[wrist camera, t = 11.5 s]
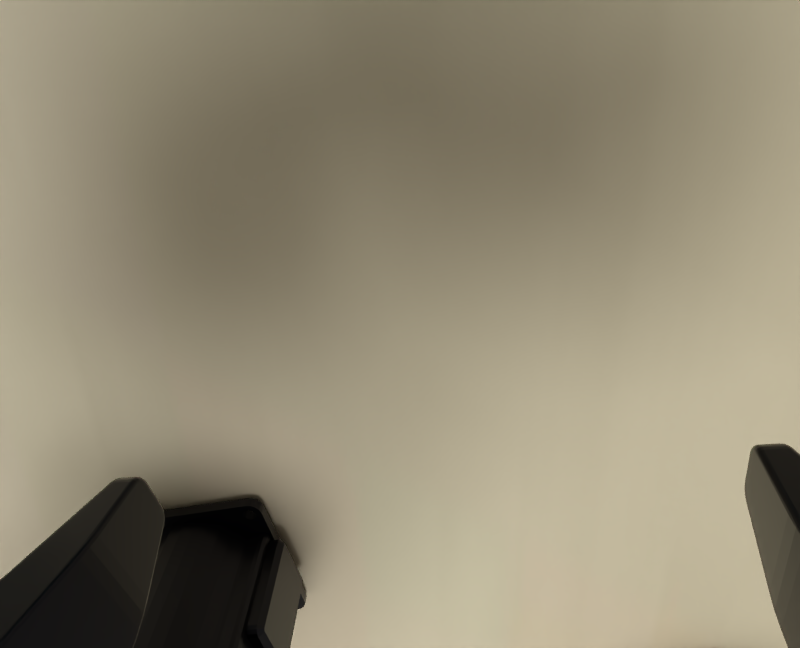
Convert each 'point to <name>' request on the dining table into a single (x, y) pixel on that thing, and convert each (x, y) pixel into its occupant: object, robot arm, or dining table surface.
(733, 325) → the dining table surface
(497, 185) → the dining table surface
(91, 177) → the dining table surface
